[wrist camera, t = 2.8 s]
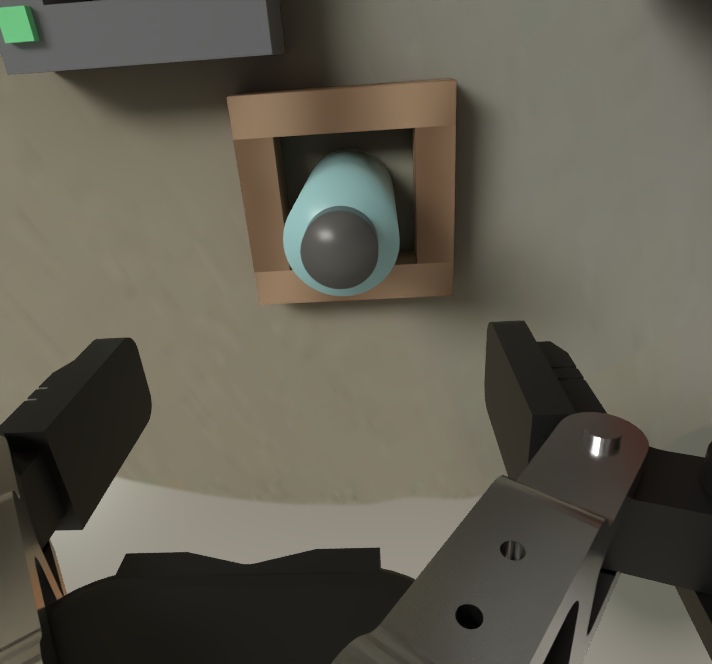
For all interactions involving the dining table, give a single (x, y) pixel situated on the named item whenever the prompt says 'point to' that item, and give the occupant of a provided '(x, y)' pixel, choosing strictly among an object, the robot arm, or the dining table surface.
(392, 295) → the square wooden frame
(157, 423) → the dining table surface
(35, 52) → the port
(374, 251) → the teal capped bottle
